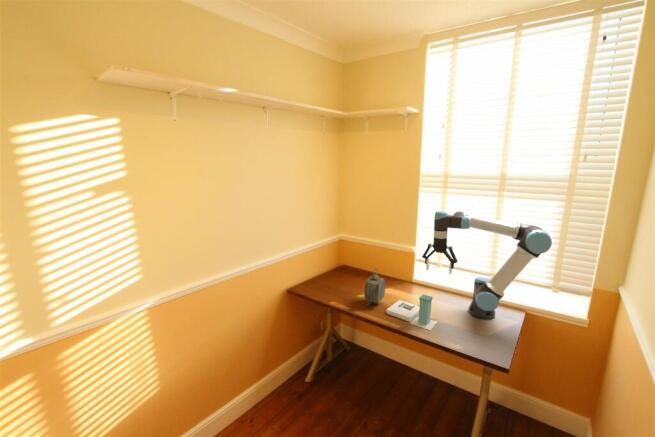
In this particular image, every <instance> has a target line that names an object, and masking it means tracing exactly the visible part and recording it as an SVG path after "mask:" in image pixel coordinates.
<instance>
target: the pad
mask: <svg viewBox="0 0 655 437" xmlns="http://www.w3.org/2000/svg"><path fill="white" fill-rule="evenodd" d="M418 321H419V315H417V316H416V317H415V318H414V319H413V320H411V321H410V323H409V324H410V325H412V326H416V327H419V328H421V329H424V330H427V331H431V330H432V329H433V328H434V327H435V326H436V325H438V321H436V320H434V319H431V318H430V323H429V324H428V325H427V326H426V325H423V324H421V323H418Z"/></svg>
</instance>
